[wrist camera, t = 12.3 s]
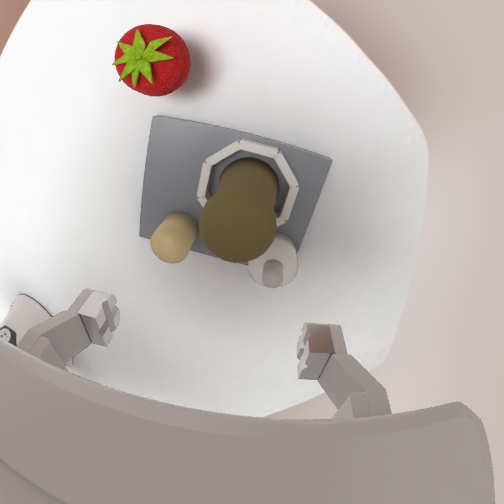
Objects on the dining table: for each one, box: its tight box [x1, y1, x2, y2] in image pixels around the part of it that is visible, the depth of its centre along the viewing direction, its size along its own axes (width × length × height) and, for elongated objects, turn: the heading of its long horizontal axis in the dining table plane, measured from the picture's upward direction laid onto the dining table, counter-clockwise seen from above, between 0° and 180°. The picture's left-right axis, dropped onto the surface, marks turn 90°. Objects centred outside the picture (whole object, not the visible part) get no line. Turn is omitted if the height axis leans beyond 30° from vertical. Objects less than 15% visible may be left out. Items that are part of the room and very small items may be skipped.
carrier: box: [139, 115, 332, 288], centre depth 26 cm, size 14×18×6 cm
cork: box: [199, 157, 279, 263], centre depth 22 cm, size 6×6×11 cm
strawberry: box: [112, 24, 190, 96], centre depth 17 cm, size 6×8×10 cm
